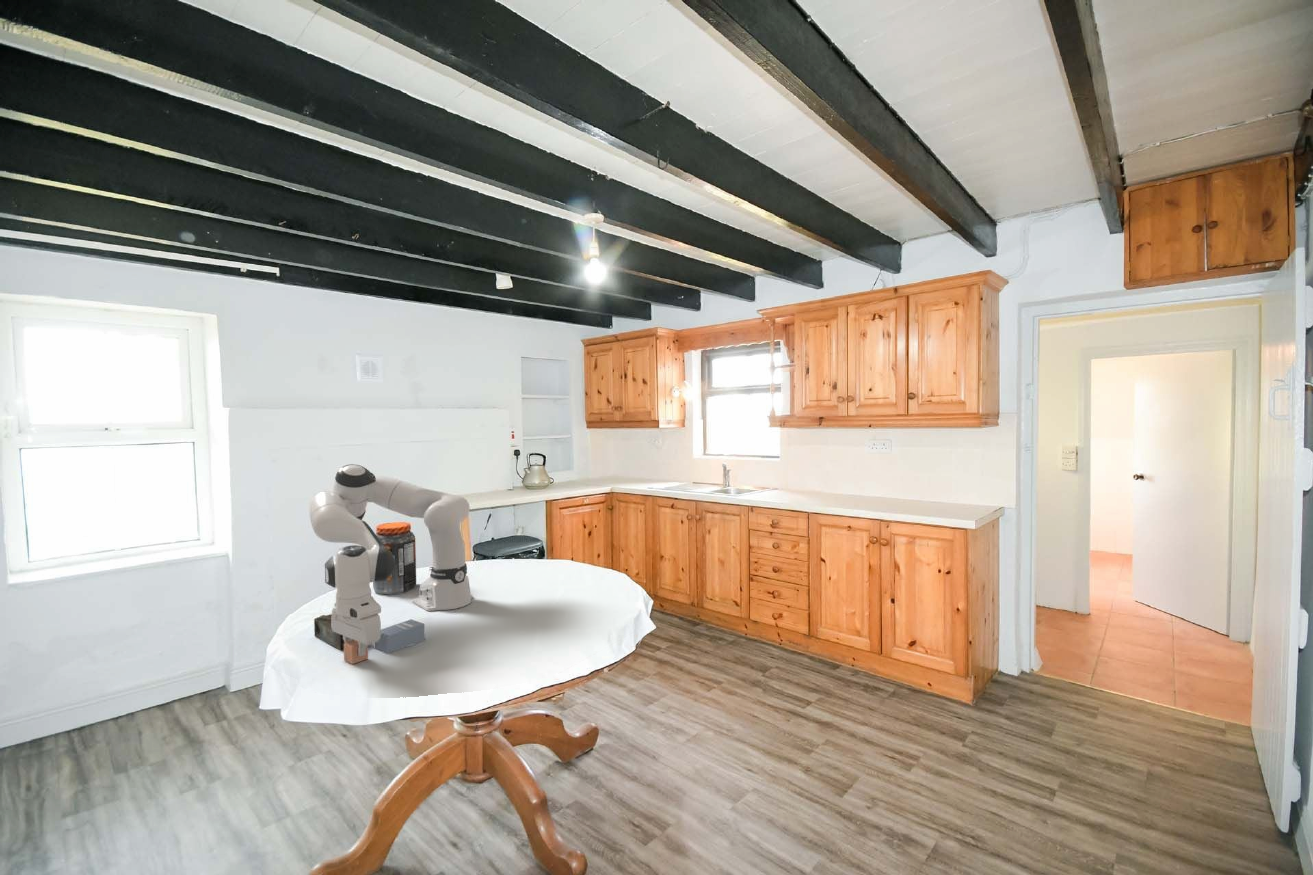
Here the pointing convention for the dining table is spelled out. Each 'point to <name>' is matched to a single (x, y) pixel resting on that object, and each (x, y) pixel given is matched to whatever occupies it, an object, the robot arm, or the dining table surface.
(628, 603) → the dining table surface
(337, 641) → the beverage carton
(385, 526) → the supplement tub
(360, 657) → the stub
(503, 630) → the dining table surface
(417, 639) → the double-striped slate block
